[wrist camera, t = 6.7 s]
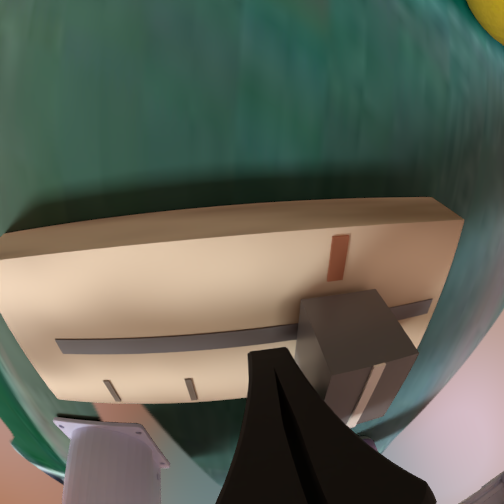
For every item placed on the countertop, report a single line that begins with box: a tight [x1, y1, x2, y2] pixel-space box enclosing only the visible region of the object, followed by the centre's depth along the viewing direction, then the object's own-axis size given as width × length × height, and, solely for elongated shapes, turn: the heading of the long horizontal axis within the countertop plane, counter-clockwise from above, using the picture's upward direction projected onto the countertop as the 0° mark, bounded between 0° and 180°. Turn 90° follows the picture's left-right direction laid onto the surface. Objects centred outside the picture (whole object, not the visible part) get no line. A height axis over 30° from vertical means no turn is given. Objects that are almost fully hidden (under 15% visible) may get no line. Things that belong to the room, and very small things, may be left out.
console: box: [0, 197, 464, 404], centre depth 13 cm, size 9×20×3 cm, turn 91°
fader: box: [294, 289, 419, 428], centre depth 10 cm, size 4×3×4 cm
